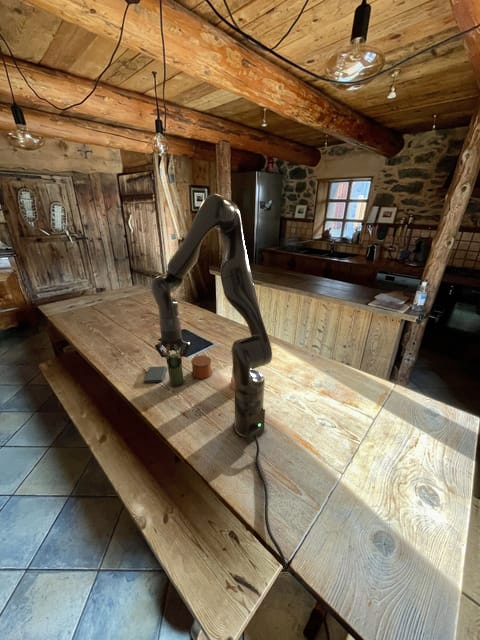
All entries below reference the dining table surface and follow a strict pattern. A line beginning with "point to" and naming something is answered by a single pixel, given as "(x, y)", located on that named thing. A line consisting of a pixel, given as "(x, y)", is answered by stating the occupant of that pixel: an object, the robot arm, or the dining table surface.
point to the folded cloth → (155, 374)
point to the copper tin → (201, 367)
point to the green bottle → (175, 371)
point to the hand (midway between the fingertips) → (174, 364)
